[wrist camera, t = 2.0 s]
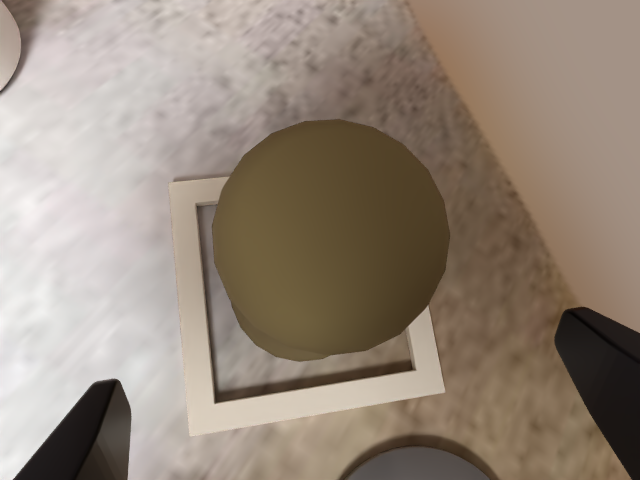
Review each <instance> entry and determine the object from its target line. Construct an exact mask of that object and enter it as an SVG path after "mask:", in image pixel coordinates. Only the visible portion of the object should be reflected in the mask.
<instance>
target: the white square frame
mask: <svg viewBox="0 0 640 480" xmlns="http://www.w3.org/2000/svg"><path fill="white" fill-rule="evenodd" d="M229 177H230V176H228V177H219V178H209V179H199V180H189V181H180V182H170V183H168V187H169V199H170V211H171V223H172V234H173V246H174V258H175V270H176V282H177V294H178V305H179V317H180V329H181V341H182V353H183V365H184V376H185V388H186V400H187V412H188V424H189V436H190V437H191V436H196V435H202V434H208V433H214V432H219V431H225V430H231V429H237V428H243V427H248V426H254V425H260V424H266V423H271V422H277V421H283V420H289V419H295V418H300V417H306V416H312V415H318V414H323V413H329V412H335V411H341V410H347V409H352V408H358V407H364V406H370V405H375V404H381V403H387V402H393V401H399V400H404V399H410V398H416V397H422V396H427V395H433V394H439V393H445V388H444V383H443V378H442V373H441V368H440V363H439V358H438V352H437V347H436V342H435V337H434V332H433V327H432V322H431V317H430V311H429V306H427V307H426V309H425V310H424V311H423V312H422V313H421V314H420V315H419V316H418V317H417V318H416V319H415V320H414V321H413V322H412V323H411V324H410V325H409V326H408V327H407V328H406V329H405V330H406V335H407V341H408V346H409V351H410V357H411V362H412V368H413V370H410V371H404V372H398V373H392V374H386V375H380V376H374V377H368V378H362V379H356V380H350V381H344V382H337V383H331V384H325V385H319V386H313V387H307V388H301V389H295V390H289V391H283V392H277V393H271V394H265V395H259V396H253V397H247V398H240V399H234V400H228V401H222V402H216V400H215V390H214V379H213V369H212V359H211V348H210V338H209V328H208V317H207V307H206V297H205V286H204V276H203V266H202V256H201V245H200V235H199V225H198V214H197V206H205V205H214V204H218V201H219V197H220V194H221V190H222V188H223V186H224V185H225V183H226V182H227V180H228V179H229Z"/></svg>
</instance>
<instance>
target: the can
mask: <svg viewBox="0 0 640 480" xmlns="http://www.w3.org/2000/svg"><path fill="white" fill-rule="evenodd" d="M20 52H21V37H20V32H19V29H18V26H17V23H16V21H15V19H14V18H13V16H12V14H11V13H10V11H9V10H8V9H7V7H6V6H5V5H4V3H3V2H2V1H1V0H0V91H1V90H2V89H3V88H4V87H5V86H6V85H7V83H8V82H9V80H10V79H11V77H12V75H13V73H14V71H15V69H16V67H17V64H18V61H19V58H20Z"/></svg>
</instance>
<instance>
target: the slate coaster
mask: <svg viewBox="0 0 640 480" xmlns="http://www.w3.org/2000/svg"><path fill="white" fill-rule="evenodd" d="M344 480H490V479H489V478H488V477H487V476H486V475H485V474H484V473H483V472H482V471H480V470H479V469H478V468H476V467H475V466H474V465H472V464H471V463H469V462H467V461H466V460H464V459H462V458H460V457H459V456H457V455H455V454H452V453H450V452H447V451H445V450H441V449H438V448H434V447H427V446H404V447H398V448H393V449H390V450H387V451H384V452H381V453H379V454H377V455H375V456H373V457H371V458H369V459H368V460H366V461H365V462H363V463H362V464H360V465H359V466H357V467H356V468H355V469H354V470H353V471H352V472H351V473H350V474H349V475H348V476H347V477H346V478H345V479H344Z"/></svg>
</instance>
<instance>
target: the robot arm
mask: <svg viewBox="0 0 640 480" xmlns="http://www.w3.org/2000/svg"><path fill="white" fill-rule="evenodd" d="M554 341H555V346H556V349H557V351H558V353H559V355H560V357H561V359H562V361H563V363H564V365H565V367H566V369H567V371H568V372H569V374H570V376H571V378H572V380H573V382H574V384H575V386H576V388H577V390H578V392H579V394H580V396H581V398H582V400H583V402H584V404H585V405H586V407H587V409H588V411H589V413H590V414H591V416H592V418H593V419H594V421H595V423H596V424H597V426H598V427H599V429H600V431H601V432H602V434H603V435H604V437H605V438H606V440H607V441H608V443H609V445H610V446H611V448H612V449H613V451H614V452H615V454H616V455H617V457H618V459H619V460H620V462H621V463H622V465H623V466H624V468H625V469H626V471H627V473H628V474H629V476H630V477H631V479H632V480H640V333H638V332H636V331H634V330H632V329H630V328H628V327H626V326H624V325H622V324H620V323H618V322H616V321H614V320H612V319H610V318H607V317H605V316H603V315H601V314H599V313H597V312H595V311H593V310H591V309H589V308H586V307H578V308H571V309H567V310H565V311H564V312H563V314H562V316H561V319H560V322H559V325H558V328H557V331H556V334H555V339H554ZM130 432H131V408H130V405H129V402H128V400H127V397H126V395H125V392H124V390H123V387H122V385H121V383H120V381H119V380H118V379H109V380H102V381H97V382H95V383H93V384H92V385H91V386H90V387H89V389H88V390H87V391H86V392H85V393H84V395H83V396H82V397H81V398H80V399H79V401H78V402H77V403H76V404H75V405H74V407H73V408H72V409H71V410H70V412H69V413H68V414H67V415H66V416H65V418H64V419H63V420H62V421H61V422H60V424H59V425H58V426H57V427H56V428H55V430H54V431H53V432H52V433H51V434H50V436H49V437H48V438H47V439H46V440H45V442H44V443H43V444H42V445H41V446H40V448H39V449H38V450H37V451H36V453H35V454H34V455H33V456H32V457H31V459H30V460H29V461H28V462H27V463H26V465H25V466H24V467H23V468H22V469H21V471H20V472H19V473H18V474H17V475H16V477H15V478H14V479H13V480H127V479H128V463H129V448H130Z"/></svg>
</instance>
